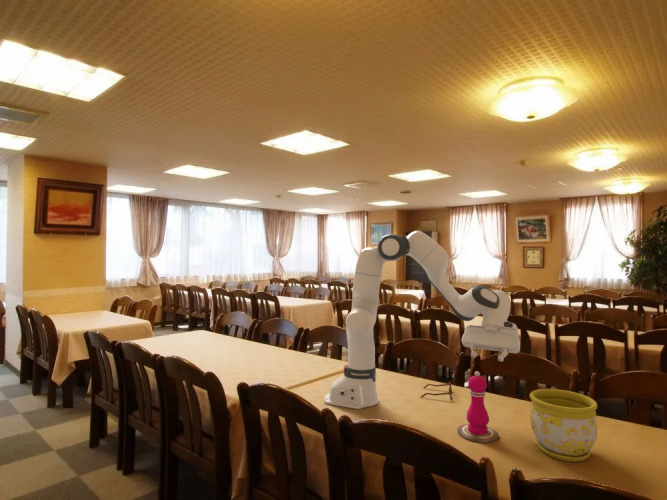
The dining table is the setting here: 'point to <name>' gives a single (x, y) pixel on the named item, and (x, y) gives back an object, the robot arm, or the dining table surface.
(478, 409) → the pepper mill
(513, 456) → the dining table surface
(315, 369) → the dining table surface
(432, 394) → the glasses
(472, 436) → the coaster
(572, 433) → the flowerpot
